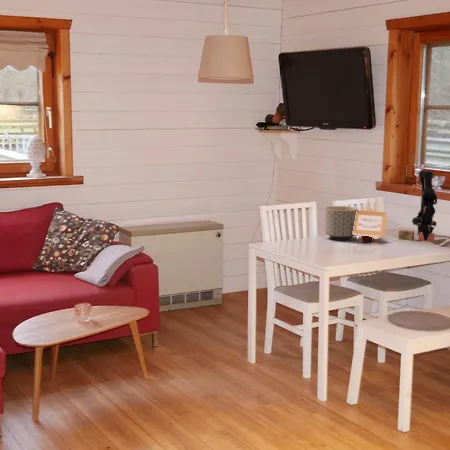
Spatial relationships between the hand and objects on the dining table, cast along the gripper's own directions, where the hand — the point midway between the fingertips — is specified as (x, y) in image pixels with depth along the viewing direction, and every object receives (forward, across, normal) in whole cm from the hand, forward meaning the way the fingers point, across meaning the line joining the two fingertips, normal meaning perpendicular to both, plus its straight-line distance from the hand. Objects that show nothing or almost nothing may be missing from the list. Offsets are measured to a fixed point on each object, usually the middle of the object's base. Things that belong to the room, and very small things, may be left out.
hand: (426, 239), depth 436 cm
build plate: (+2, +3, -11) cm, 12 cm away
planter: (+2, +17, -46) cm, 49 cm away
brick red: (+1, 0, 0) cm, 1 cm away
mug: (+2, +19, -28) cm, 34 cm away
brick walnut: (0, +3, -11) cm, 11 cm away
